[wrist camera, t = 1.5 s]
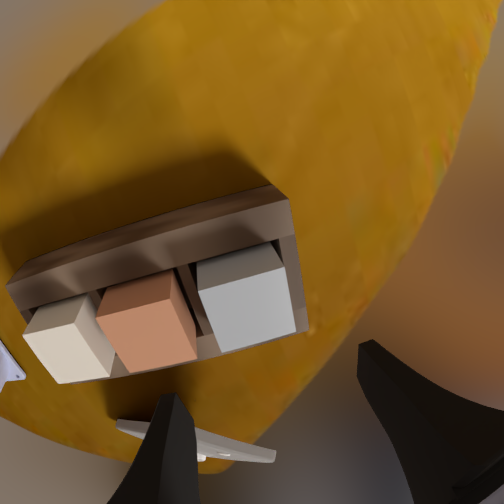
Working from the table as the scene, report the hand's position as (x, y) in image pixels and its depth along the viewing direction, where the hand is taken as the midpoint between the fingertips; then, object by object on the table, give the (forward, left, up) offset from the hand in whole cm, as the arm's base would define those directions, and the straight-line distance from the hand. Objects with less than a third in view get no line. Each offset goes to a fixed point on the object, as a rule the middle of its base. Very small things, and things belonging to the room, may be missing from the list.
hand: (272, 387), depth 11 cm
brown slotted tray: (-6, 0, -11) cm, 12 cm away
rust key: (-6, 0, -8) cm, 10 cm away
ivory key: (-11, 0, -8) cm, 14 cm away
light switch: (-9, -14, -11) cm, 20 cm away
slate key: (0, 0, -8) cm, 8 cm away
